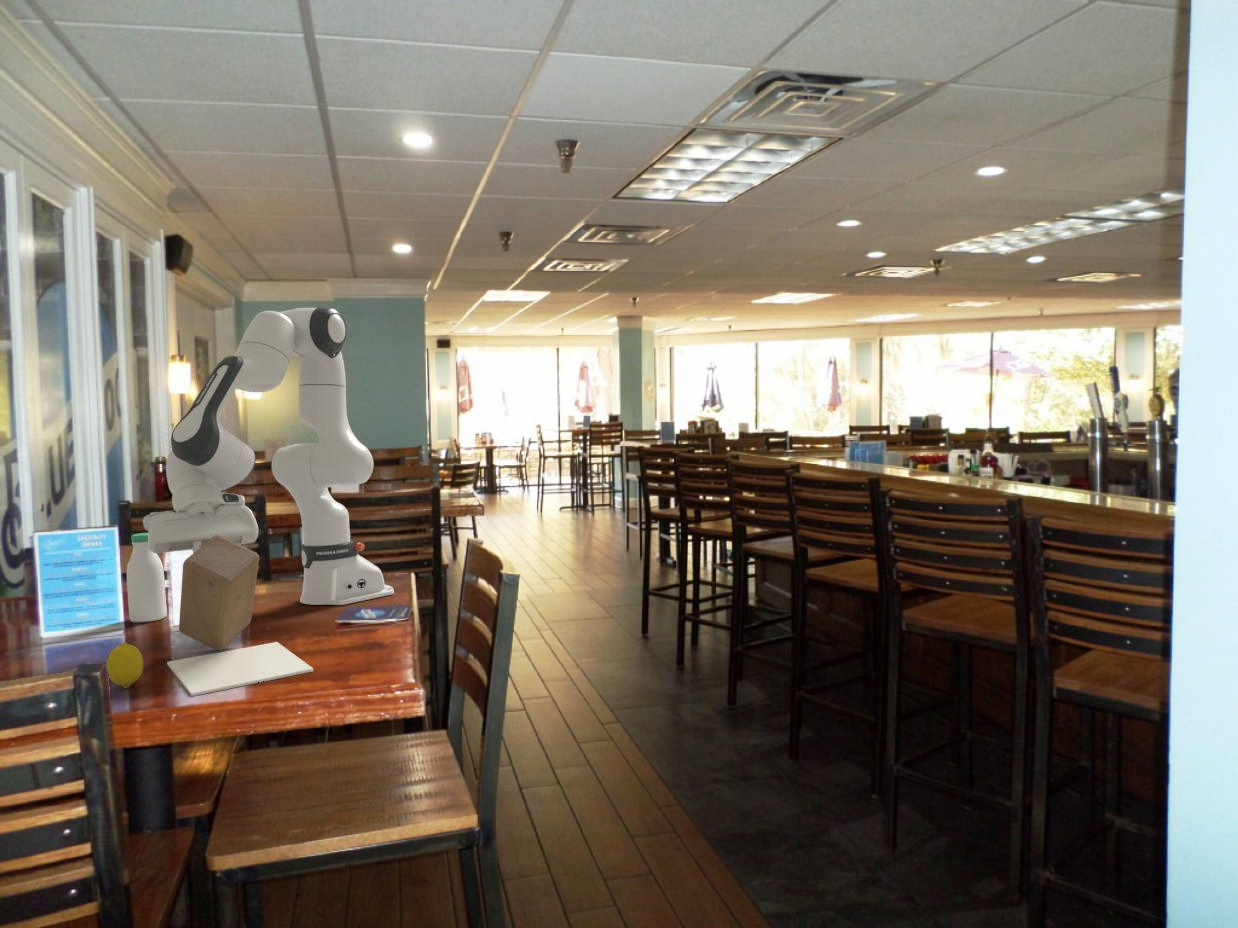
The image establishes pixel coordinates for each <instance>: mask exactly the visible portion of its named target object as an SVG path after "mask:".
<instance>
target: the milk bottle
mask: <svg viewBox="0 0 1238 928" xmlns="http://www.w3.org/2000/svg"><path fill="white" fill-rule="evenodd" d="M130 538H131V545H132V553H131V555H130V558H129V560H128V563H127V567H126V590H127V602H128V605H127V606H128V615H129V616H128V618H129V621H130V622H131V623H148V622H154V621H155V622H156V621H159V620H163V619H164V618H166V617H167V615H168V610H167V609H168V607H167V595H166V594H167V592H166V582H165V571H164V565H163V563H162V560H161V558H160V557H159V555H158V553H153V552H152V551H150V550H149V546H148V532H141V533H133V534H132V535H131V537H130Z"/></svg>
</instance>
